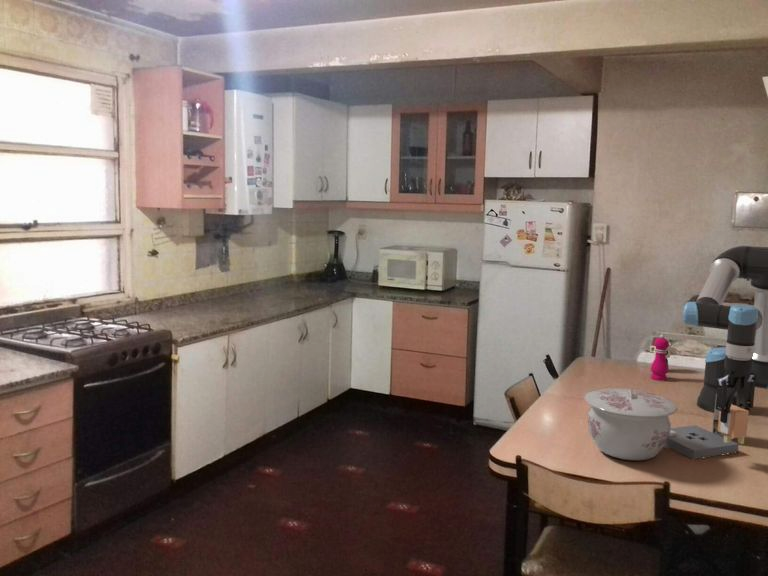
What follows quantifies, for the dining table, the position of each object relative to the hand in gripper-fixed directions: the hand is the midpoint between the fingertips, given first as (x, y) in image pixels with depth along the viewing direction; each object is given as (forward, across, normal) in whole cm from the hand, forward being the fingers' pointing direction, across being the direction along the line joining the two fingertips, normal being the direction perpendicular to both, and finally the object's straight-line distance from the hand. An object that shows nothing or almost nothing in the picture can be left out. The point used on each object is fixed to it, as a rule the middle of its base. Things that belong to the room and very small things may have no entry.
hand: (732, 431), depth 207 cm
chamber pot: (+10, -26, +16) cm, 32 cm away
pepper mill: (+12, +46, +82) cm, 94 cm away
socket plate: (+10, 0, +14) cm, 17 cm away
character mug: (+12, +56, +93) cm, 109 cm away
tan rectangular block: (+3, 0, 0) cm, 3 cm away
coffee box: (+11, +15, +17) cm, 25 cm away
